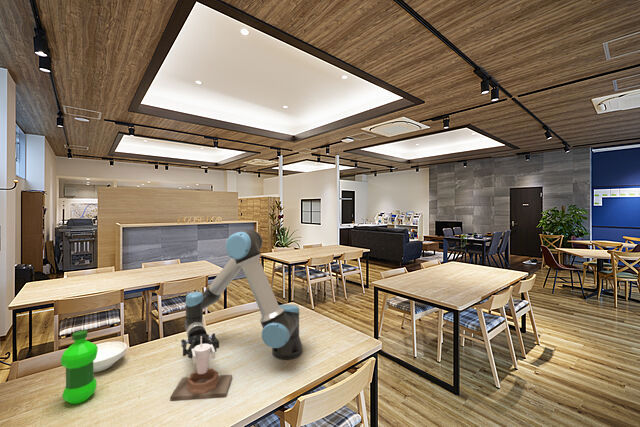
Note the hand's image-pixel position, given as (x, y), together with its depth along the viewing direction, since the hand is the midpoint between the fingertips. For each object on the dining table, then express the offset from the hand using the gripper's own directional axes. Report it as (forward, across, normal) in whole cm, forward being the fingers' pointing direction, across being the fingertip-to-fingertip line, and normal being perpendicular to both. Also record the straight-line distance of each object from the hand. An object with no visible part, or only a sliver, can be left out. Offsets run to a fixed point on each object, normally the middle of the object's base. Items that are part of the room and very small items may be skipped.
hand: (204, 357), depth 106 cm
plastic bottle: (-21, +40, -16) cm, 48 cm away
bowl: (-44, +37, -16) cm, 60 cm away
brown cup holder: (-5, 0, -15) cm, 16 cm away
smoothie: (-5, 0, -8) cm, 10 cm away
